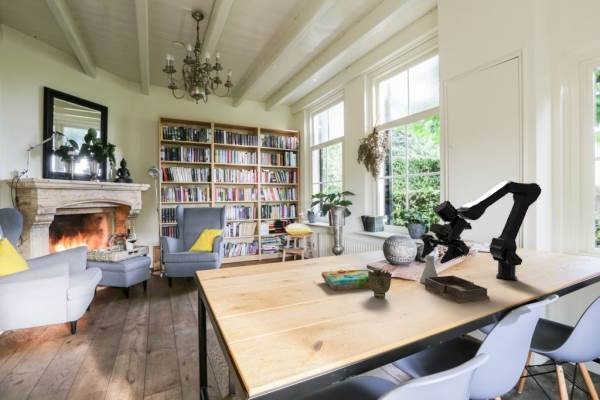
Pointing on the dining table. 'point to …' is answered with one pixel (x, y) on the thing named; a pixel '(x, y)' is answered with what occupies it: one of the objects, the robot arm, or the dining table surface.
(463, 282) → the walnut dock
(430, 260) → the flask
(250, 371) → the dining table surface
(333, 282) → the puzzle game
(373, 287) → the cup
